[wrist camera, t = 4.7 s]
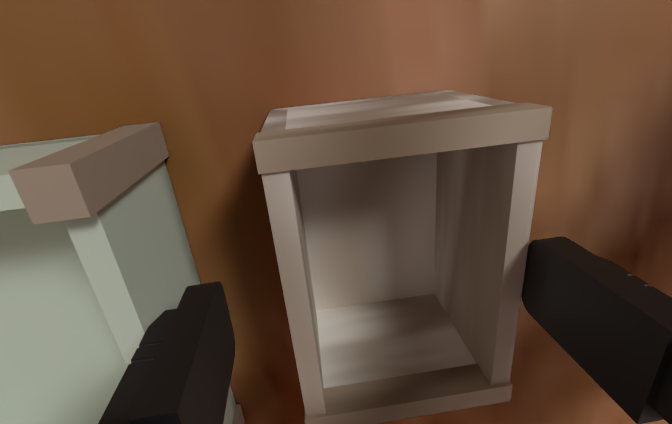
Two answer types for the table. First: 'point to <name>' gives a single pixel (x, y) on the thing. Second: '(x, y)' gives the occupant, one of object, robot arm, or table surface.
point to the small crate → (402, 247)
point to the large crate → (85, 269)
